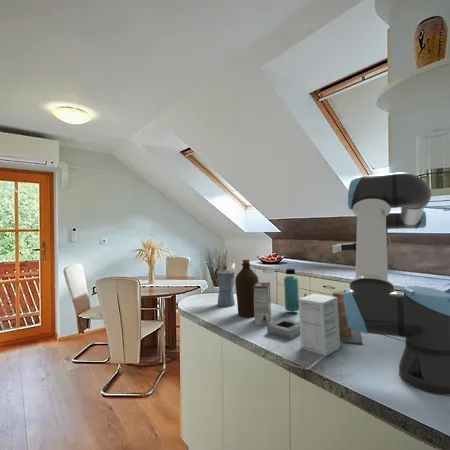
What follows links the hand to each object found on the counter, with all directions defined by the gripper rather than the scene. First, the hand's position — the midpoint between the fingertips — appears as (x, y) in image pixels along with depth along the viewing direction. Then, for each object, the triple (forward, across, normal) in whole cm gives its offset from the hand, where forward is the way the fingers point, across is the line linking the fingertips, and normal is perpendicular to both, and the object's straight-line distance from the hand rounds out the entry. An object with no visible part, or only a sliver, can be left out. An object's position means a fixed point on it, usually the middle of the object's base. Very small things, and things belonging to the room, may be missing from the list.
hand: (350, 250), depth 121 cm
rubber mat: (+10, 0, -30) cm, 32 cm away
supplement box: (+25, +1, -30) cm, 39 cm away
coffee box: (+15, +32, -30) cm, 46 cm away
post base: (+20, +17, -30) cm, 40 cm away
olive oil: (+9, +44, -30) cm, 54 cm away
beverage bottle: (-4, +30, -30) cm, 42 cm away
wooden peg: (+10, 0, -29) cm, 31 cm away
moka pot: (+4, +65, -30) cm, 71 cm away
